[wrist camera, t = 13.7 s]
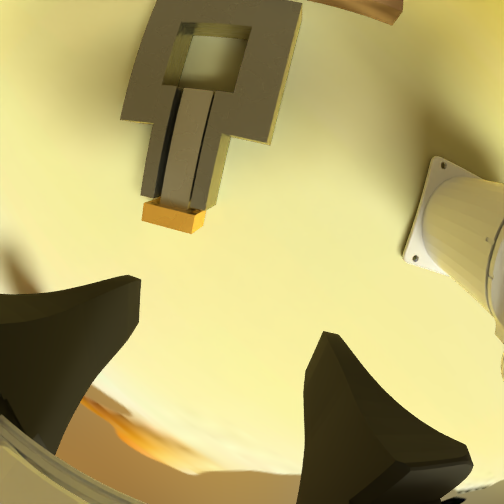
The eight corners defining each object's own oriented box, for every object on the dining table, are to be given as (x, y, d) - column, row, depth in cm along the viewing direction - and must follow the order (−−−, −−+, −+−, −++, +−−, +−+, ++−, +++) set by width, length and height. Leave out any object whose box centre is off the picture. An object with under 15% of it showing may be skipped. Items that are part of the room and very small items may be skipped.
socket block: (301, 19, 15) (302, 3, 12) (253, 214, 20) (247, 221, 17) (172, 9, 15) (159, -5, 13) (127, 184, 20) (108, 188, 18)
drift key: (231, 98, 17) (222, 89, 15) (202, 225, 20) (191, 234, 18) (181, 91, 17) (168, 84, 15) (157, 213, 20) (141, 220, 18)
